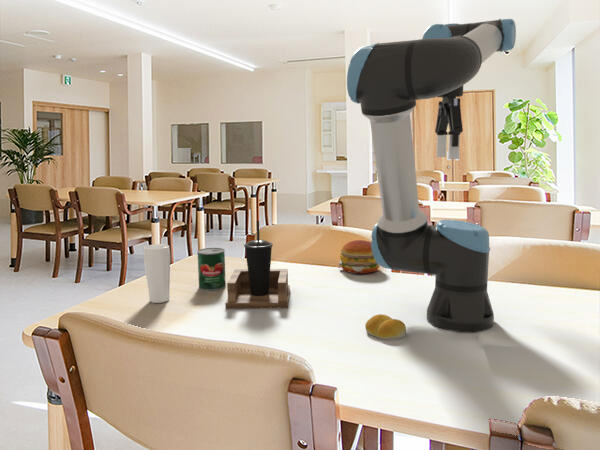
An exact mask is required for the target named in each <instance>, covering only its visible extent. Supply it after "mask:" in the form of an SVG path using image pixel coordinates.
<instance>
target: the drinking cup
mask: <svg viewBox="0 0 600 450" xmlns="http://www.w3.org/2000/svg"><path fill="white" fill-rule="evenodd" d="M260 237H261V236H260V220H256V239H252V240H250V241H248V242H246V243H244V244H243V247H244V248H245V249H244V250H245V258H246V264H247V269H248V275H249V283H250V291H251V295H254V296H264V295H267V294H268V293H269V279H270V269H271V265H272V264H271V261H272V249H273V248H272V247H273V243H272V242H269V240H265V239H260Z"/></svg>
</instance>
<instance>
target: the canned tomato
mask: <svg viewBox="0 0 600 450" xmlns="http://www.w3.org/2000/svg"><path fill="white" fill-rule="evenodd" d="M225 252H226V251H225V249H224V248H221V247H207V248H201V249H198V250H197V252H196V253H197V271H198V273H197V274H198V289H199V290H201V291H208V292H211V291H214V292H215V291H220V290H223V289H225V288H226V287H227V282H226V258H225V257H226V256H225Z"/></svg>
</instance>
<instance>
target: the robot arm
mask: <svg viewBox="0 0 600 450" xmlns="http://www.w3.org/2000/svg"><path fill="white" fill-rule="evenodd" d="M516 37H517V29H516V22H515V20H514V19H512V18H503V19H502V18H499V19H496V20H495V19H494V20H486V21H480V22H479V21H478V22H472V23H446V24H443V23H440V24H439V23H436V24H432V25H430V26H428V27H427V28H426V30H425V31H424V32H423V35H422V38H421V39H412V40H403V41H391V42H378V43H377V42H376V43H374V44H369V45H363V46H361V47H359V48H358V49H356V51H354V53H353V55H352V56H351V59H350V61H349V64H348V67H347V73H346V74H347V76H346V88H347V90H346V91H347V94H348V97H349V98H350V100H351V101H352V102H353V103H354V104H360V109H361V110H360V111H361V115H363V116H364V117H365V118H367V119H368V120H369V122H370V129H371V138H372V145H373V151H374V159H375V167H376V174H377V181H378V182H377V183H378V189H379V195H380V196H379V197H380V203H381V211H382V214H381V215H380V216H379V217H378V220H377V223H375V225H374V226H373V228H372V231H371V236H370V238H371V241H370V242H371V248H372V253H373V256H374V259H375V260H376V262H377V263H378V264H379V267H382V268H384V269H389V270H392V271H395V272H396V271H397V272H398V271H401V272H410V273H418V274H425V275H432V276H433V275H434V278H435V284H434V290H433V292H432V295H431V297H430V300H429V302H428V305H427V309H426V321H428V322H429V323H430V324H431V325H433V326H435V327H437V328H440V329H444V330H449V331H454V332H463V333H464V332H465V333H468V332H470V333H471V332H481V331H487V330H489V329H491V328H492V327H493V326H494V322H495V313H494V310H493V307H492V304H491V300H490V297H489V294H488V279H489V264H490V263H489V262H490V261H489V260H490V251H491V248H490V234H489V231H488V230H487V229H486V228H485V227H483V226H482V225H479V224H476V223H473V222H469V221H464V220H456V219H453V220H452V219H441V220H438V221H437V223H436V224H435V225H431V224H428V218H427V217H428V215H426V213H425V212H424V211H422V210H421V209H420V203H419V192H418V185H417V184H418V182H417V181H418V180H417V172H416V171H417V170H416V163H415V162H416V161H415V151H414V143H413V142H414V141H413V134H412V132H413V131H412V122H411V121H412V120H411V113H412V112H413V110H414V109H415V108H416V107H417V100H419V101H420V100H429V99H434V98H442V101H438V110H437V116H436V117H437V118H436V123H435V130H434V131H435V132H434V133H435V134H436V155H435V156H436V158H446V157H447V140H448V157H447V158H448V160H458V159H460V139H461V137H460V136H461V133H463V131H464V129H463V121H462V113H461V112H462V111H461V98H460V97H463V95H464V85H466V84H467V83H469V82H470V81H472V79H474V78H475V77H476V75H477V74H478V73H479V71H480V69H481V67H482V64H483V63H484V62H486V61H487V59H489V58H490V57H491V56H492V55H494V54H495V53H496V52H498V53H499V52H500V53H501V52H502V53H503V52H505V51H512V50H513V49H514V47H515V44H516ZM448 128H449V131H447V129H448ZM447 136H448V137H447ZM447 138H448V139H447Z"/></svg>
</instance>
